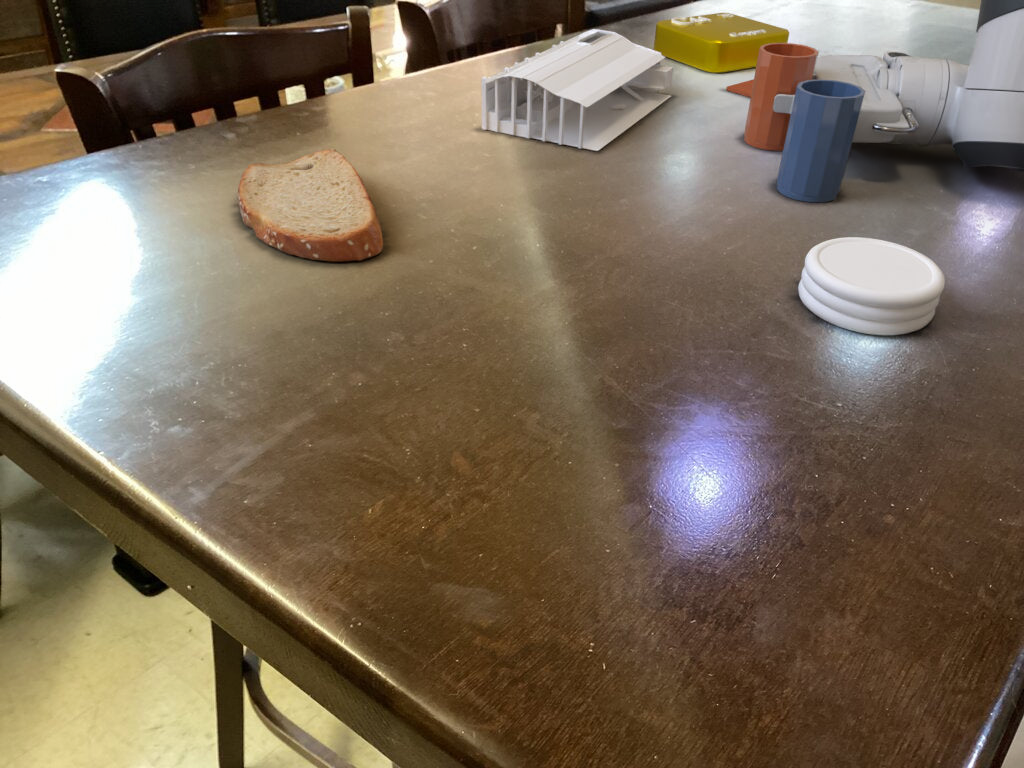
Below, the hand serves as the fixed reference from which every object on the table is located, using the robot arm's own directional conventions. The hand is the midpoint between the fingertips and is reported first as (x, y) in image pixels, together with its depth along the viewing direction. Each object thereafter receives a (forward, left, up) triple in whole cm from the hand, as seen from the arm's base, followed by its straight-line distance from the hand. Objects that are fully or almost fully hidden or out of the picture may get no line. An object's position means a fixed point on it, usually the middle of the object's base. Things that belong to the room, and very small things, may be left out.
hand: (772, 91), depth 90 cm
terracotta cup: (-1, -1, -6) cm, 6 cm away
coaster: (-28, +24, -6) cm, 37 cm away
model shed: (+20, +9, -6) cm, 23 cm away
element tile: (+27, -26, -6) cm, 38 cm away
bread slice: (+13, +49, -6) cm, 52 cm away
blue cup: (-12, +8, -6) cm, 15 cm away
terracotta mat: (+6, -23, -6) cm, 24 cm away
